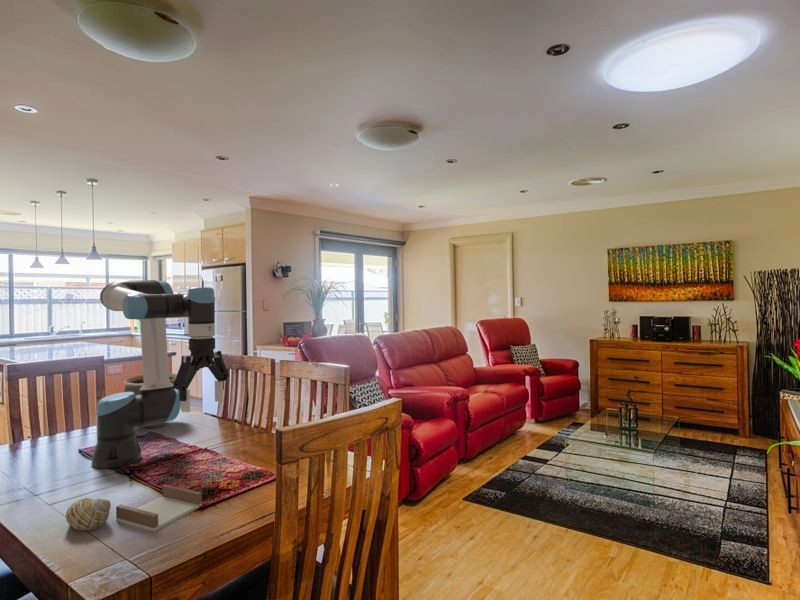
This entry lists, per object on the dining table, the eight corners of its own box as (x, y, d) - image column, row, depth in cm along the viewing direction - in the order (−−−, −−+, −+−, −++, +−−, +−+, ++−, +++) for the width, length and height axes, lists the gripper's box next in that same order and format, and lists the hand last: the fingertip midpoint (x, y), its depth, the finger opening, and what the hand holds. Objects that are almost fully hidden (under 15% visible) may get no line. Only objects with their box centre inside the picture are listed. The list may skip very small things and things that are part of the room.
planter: (195, 422, 214) (195, 374, 214) (148, 436, 193) (148, 383, 192) (157, 416, 225) (157, 371, 224) (109, 429, 203) (108, 379, 203)
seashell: (72, 515, 123) (91, 480, 124) (107, 530, 124) (125, 495, 125) (48, 533, 113) (69, 494, 114) (86, 549, 114) (106, 511, 114)
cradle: (116, 520, 121) (116, 506, 121) (166, 497, 135) (165, 484, 135) (154, 531, 115) (153, 516, 115) (201, 505, 129) (201, 492, 129)
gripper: (178, 341, 130) (179, 417, 130) (239, 334, 153) (240, 398, 153) (158, 341, 132) (159, 415, 133) (221, 333, 156) (222, 396, 156)
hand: (203, 406), depth 143 cm, fingers open, 13 cm apart
